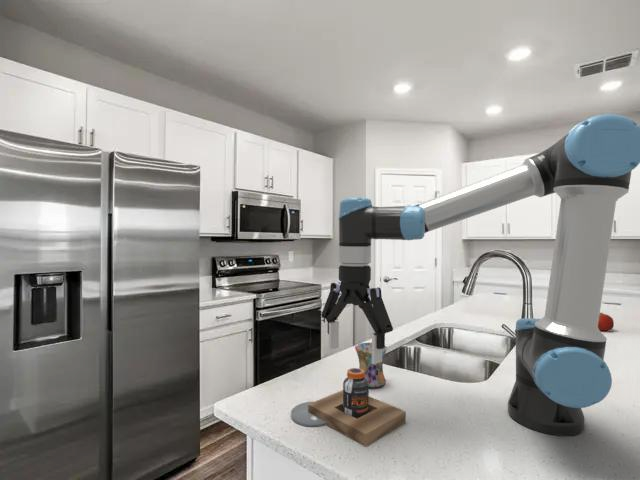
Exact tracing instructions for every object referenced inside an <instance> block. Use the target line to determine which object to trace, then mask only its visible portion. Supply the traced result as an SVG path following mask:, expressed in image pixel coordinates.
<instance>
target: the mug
mask: <svg viewBox="0 0 640 480" xmlns="http://www.w3.org/2000/svg"><path fill="white" fill-rule="evenodd" d="M354 349H355V352H356V355H357V359H358V363H359V366H358V367H359V369H362V370H364V378H365V379H366V380H367V381H368V384H369V388H379V387H382V386H384V385H385V384H386V382H387V380H386V378H385V377H386V376H385V375H384V371H383V369H384V367H383V366H384V364H383V363H384V358H385V354H386V353H387V350H388V347H387V346H386V345H385V347H384V348H383V349H382V362H380V363H377V364H372V342H360V343H358V344H355V346H354Z"/></svg>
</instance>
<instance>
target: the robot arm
mask: <svg viewBox="0 0 640 480" xmlns="http://www.w3.org/2000/svg"><path fill="white" fill-rule="evenodd" d="M639 165H640V125H639V124H637V123H636V122H635V121H634V120H633V119H631V118H629V117H627V116H624V115H620V114H617V113H616V114H615V113H605V114H603V113H602V114H599V115H594V116H592V117H589V118H587V119H585V120H582V121H580V122H579V123H577V124H575V126H572V128H571V129H570V130H569V131H568V133H567V134H565V135H564V136H562V137H561V138H560V139H559V140H558V141H556V142H555V143H554V144H552V145H551V146H549V147H548V148H546V149H545V150H543V151H541V152H539V153H537V154H535V155H533V156H531V157H528V158H525V160H523V163H522V164H521V165H519V166H515V167H513V168H510V169H508V170H505V171H502V172H501V173H497V174H495V175H492V176H489V177H487V178H484V179H482V180H479V181H476V182H474V183H471V184H469V185H466V186H462V187H461V188H457V189H455V190H452V191H450V192H447V193H445V194H442V195H439V196H437V197H434V198H431V199H428V200H426V201H423V202H420V203H417V204H415V205H402V206H401V205H400V206H397V205H396V206H395V205H394V206H373V204H372V200H371V199H370V198H368V197H345V198H343V199H342V200H341V201H340V202H339V213H338V215H339V216H338V240H339V243H338V263H339V264H340V265H339V266H338V280H339V282H338V281H337V282H331V283H330V288H329V293H328V296H327V298H326V301H325V304H324V307H323V309H322V312H321V318H322V319H325V320H326V322H327V331H326V332H327V334H328V350H336V349H338V348H339V346H340V345H339V344H340V343H339V340H340V339H339V338H340V337H339V336H340V333H339V332H340V331H339V330H340V329H339V328H340V325H339V324H340V322H339V321H338V320H339V319H338V318H339V316H341V314H342V312H343V310H344V309H345V308H346V306H347V305H353V306H358V308H359V309H361V310H362V312H363V313H364V315H365V317H366V319H367V321H368V322H369V324H370V326H371V328H372V330H373V332H374V333H372V334H371V343H372V364H377V363H380V362H382V349H383V348H384V347H385V346H386V344H385V343H386V334H388V333H391V332H393V330H394V327H393V324H392V322H391V319H390V316H389V314H388V312H387V308H386V306H385V304H384V301H383V297H382V289H381V288H380V287H372V288H371V287H370V282H371V280H372V272H371V271H372V267H371V266H370V265H369V264H371V262H372V240H394V241H397V240H399V241H400V240H401V241H413V240H414V241H415V240H422V239H424V238H425V234H427V233H428V232H431V231H434V230H437V229H440V228H443V227H445V226H448V225H449V226H450V225H452V224H454V223H457V222H461V221H463V220H467V219H468V218H471V217H475V216H478V215H480V214H483V213H486V212H489V211H492V210H495V209H498V208H501V207H503V206H506V205H509V204H510V205H511V204H512V203H516V202H517V201H520V200H524V199H527V198H529V197H532V196H536V197H538V198H543V197H546V196H548V195H552V194H557V196H558V197H559V199H560V203H559V210H558V211H559V212H558V216H557V218H558V219H557V225H556V231H555V241H554V245H553V252H552V253H553V254H552V262H551V269H550V277H549V282H548V289H547V297H546V304H545V311H544V316H543V317H542V318H533V317H532V318H531V317H529V318H528V317H527V318H525V317H524V318H523V317H522V318H519V319H518V320H516V322H515V329H514V333H515V382H514V385H513V387H512V389H511V393H510V395H509V398H508V401H507V413H508V415H509V416H510V418H512V419H513V420H514V421H516V422H517V423H518V424H520V425H522V426H524V427H526V428H528V429H531V430H535V431H538V432H540V433H544V434H550V435H556V436H575V435H579V434H581V433H583V432H585V429H586V428H585V427H586V422H585V421H586V420H585V414H584V412H583V410H582V409H583V408H589V407H591V406H594V405H596V404H598V403H600V402H602V401H603V400H604V399H606V397H607V396H608V395H609V393H610V391H611V388H612V383H613V382H612V381H613V378H612V373H611V370H610V368H609V365H608V364H607V363H606V362H605V360H604V359H605V352H606V346H607V345H606V344H607V337H606V336H605V334H604V333H602V330H599V328H598V322H599V315H600V313H601V307H602V302H603V301H602V300H603V293H604V287H605V280H606V279H605V278H606V272H607V265H608V261H609V260H608V259H609V254H610V253H609V251H610V246H611V238H612V232H613V225H614V218H615V212H616V205H617V201H618V200H619V199H621V198H622V197H624V195H627V194H628V193H629V190H630V184H631V178H632V171H633V170H634V169H636V168H637V167H638V166H639Z"/></svg>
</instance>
